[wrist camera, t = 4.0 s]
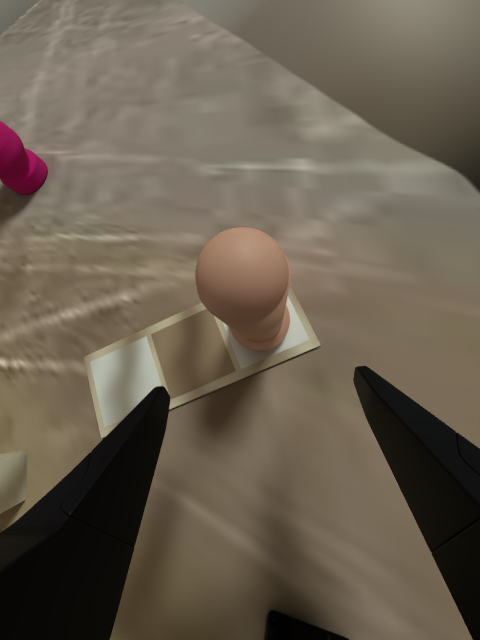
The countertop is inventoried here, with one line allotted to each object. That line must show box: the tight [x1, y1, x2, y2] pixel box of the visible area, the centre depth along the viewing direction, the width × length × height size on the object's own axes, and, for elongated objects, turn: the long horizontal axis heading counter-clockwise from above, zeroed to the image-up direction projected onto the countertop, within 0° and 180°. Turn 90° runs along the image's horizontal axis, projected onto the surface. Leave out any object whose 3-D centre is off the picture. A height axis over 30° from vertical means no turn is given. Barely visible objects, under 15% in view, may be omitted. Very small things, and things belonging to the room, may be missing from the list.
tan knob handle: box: [196, 227, 291, 351], centre depth 15 cm, size 6×6×14 cm
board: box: [84, 286, 321, 438], centre depth 23 cm, size 25×9×1 cm, turn 113°
